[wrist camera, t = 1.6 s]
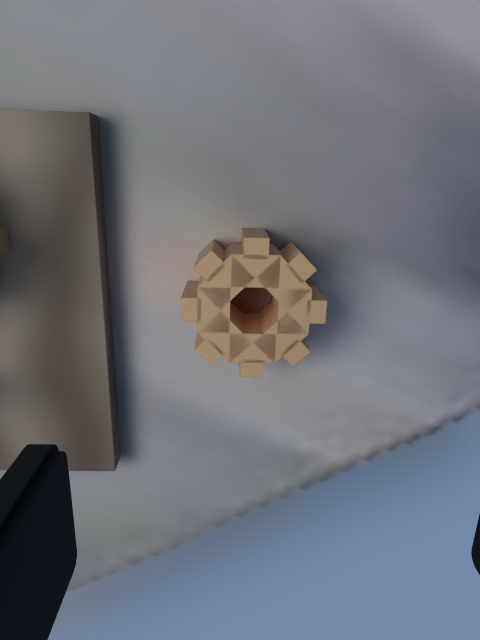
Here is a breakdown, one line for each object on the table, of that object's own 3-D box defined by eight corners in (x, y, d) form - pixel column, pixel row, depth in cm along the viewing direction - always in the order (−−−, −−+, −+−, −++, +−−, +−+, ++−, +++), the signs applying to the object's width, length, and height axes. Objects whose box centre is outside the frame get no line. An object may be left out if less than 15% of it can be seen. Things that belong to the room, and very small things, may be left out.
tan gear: (318, 230, 25) (332, 239, 21) (308, 351, 27) (320, 378, 24) (186, 227, 24) (180, 236, 21) (188, 350, 27) (182, 376, 23)
